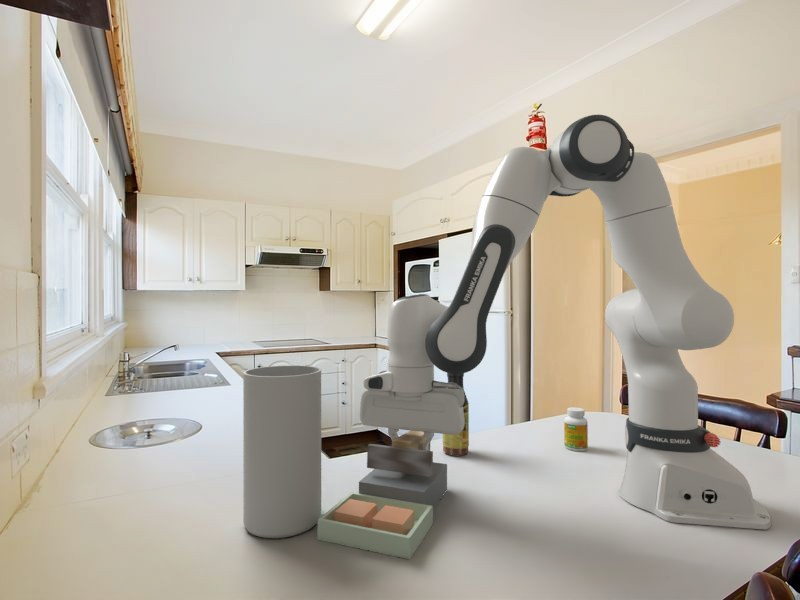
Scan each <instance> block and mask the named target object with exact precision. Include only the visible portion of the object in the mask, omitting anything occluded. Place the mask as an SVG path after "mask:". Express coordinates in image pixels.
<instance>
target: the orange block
mask: <svg viewBox="0 0 800 600" xmlns="http://www.w3.org/2000/svg"><path fill="white" fill-rule="evenodd" d="M376 514H377V504H375V503H369V502H364V501H359V500H353V499H349V500H348V501H347V502H346V503H344V504H343V505H342V506H341V507H340V508H338V509H337V510H336V511H335V521H337V522H342V523H347V524H352V525H357V526H362V527H367V528H372V518H373V517H374V516H375V515H376Z"/></svg>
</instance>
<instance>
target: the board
mask: <svg viewBox="0 0 800 600" xmlns="http://www.w3.org/2000/svg"><path fill="white" fill-rule="evenodd" d="M446 490H447V491H448V464H447V463H441V462H433V475H432V476H431V477H429V476H422V475H415V474H407V473H400V472H393V471H386V470H379V469H372V471H370V472H369V473H368V474H366V475H365V476H364V477H363V478H362V479H360V480H359V481H358V493H360V494H366V495H372V496H378V497H384V498H390V499H396V500H401V501H407V502H413V503H419V504H425V505H431V506H433V510H434V509H435V508H436V506H437V505H438V504H437V503H439V502H440V501H441V499H442V498H443V497H442V496H444V495H445V494H446V492H447V491H446ZM445 491H446V492H445ZM444 493H445V494H444ZM443 494H444V495H443ZM441 497H442V498H441ZM439 500H440V501H439ZM436 504H437V505H436ZM434 507H435V508H434Z"/></svg>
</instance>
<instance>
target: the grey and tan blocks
mask: <svg viewBox="0 0 800 600" xmlns="http://www.w3.org/2000/svg"><path fill="white" fill-rule="evenodd" d="M426 438H427V437H426ZM426 438H425V437H424V432H421V431H412V430H408V432H405V433H404V434H402V435H400V436H399V437H398V438H396V439H394V440H391V445H382V444H376V443H375V444H374V443H369V444H367V450H366V451H367V456H366V458H367V461H366V468H367V469H372V470H374V469H379V470H386V471H393V472H400V473H407V474H415V475H422V476H429V477H431V476H432V475H433V460H434V459H433V457H434V451H433V450H431V442H430V443H429V444H428V451H427V450H418V446H419V445H420V444H421V443H424V442H425V440H426Z"/></svg>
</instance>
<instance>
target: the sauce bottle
mask: <svg viewBox="0 0 800 600" xmlns="http://www.w3.org/2000/svg"><path fill="white" fill-rule="evenodd" d="M446 376H447V383H449V382H453V383H456V384H457V385H459V386H460V387H461V388H462V389H463V390H464V393H465V402H464V404H463V412H464V428H463V430H462V431H461V432H460V433H459V434H458V435H450V434H442V446H443V447H442V451H443V453H444V452H445V453H444V454H446V453H447V454H446V455H448V454H452V455H451V456H453V455H460V456H464V454H465V455H467V454H468V452H469V445H470V441H469V439H470V437H469V436H470V435H469V433H470V431H469V430H470V429H469V428H470V427H469V426H470V425H469V423H470V422H469V421H470V420H469V418H470V417H469V415H470V413H469V411H470V410H469V406H470V405H469V404H470V403H469V401H468V398H467V395H466V392H465V388H464V376H465V373H463V374H450V373H447V372H446ZM456 389H459V388H458V387H457V388H456ZM466 453H467V454H466Z"/></svg>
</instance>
